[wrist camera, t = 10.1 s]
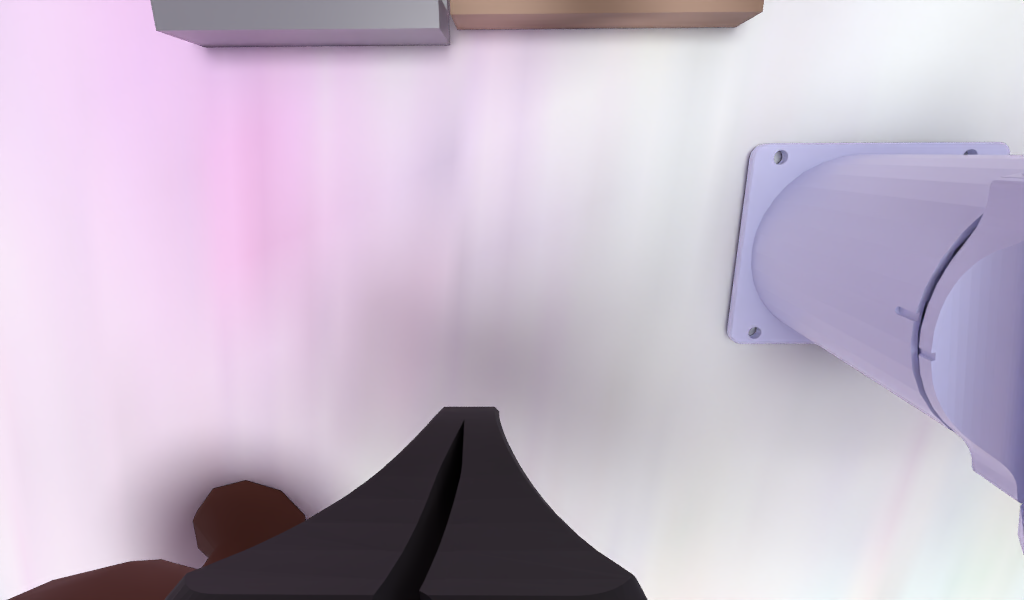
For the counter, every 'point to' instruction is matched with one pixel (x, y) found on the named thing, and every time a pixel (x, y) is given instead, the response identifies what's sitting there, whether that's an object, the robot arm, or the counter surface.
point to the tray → (304, 22)
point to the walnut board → (601, 13)
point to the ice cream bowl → (219, 532)
